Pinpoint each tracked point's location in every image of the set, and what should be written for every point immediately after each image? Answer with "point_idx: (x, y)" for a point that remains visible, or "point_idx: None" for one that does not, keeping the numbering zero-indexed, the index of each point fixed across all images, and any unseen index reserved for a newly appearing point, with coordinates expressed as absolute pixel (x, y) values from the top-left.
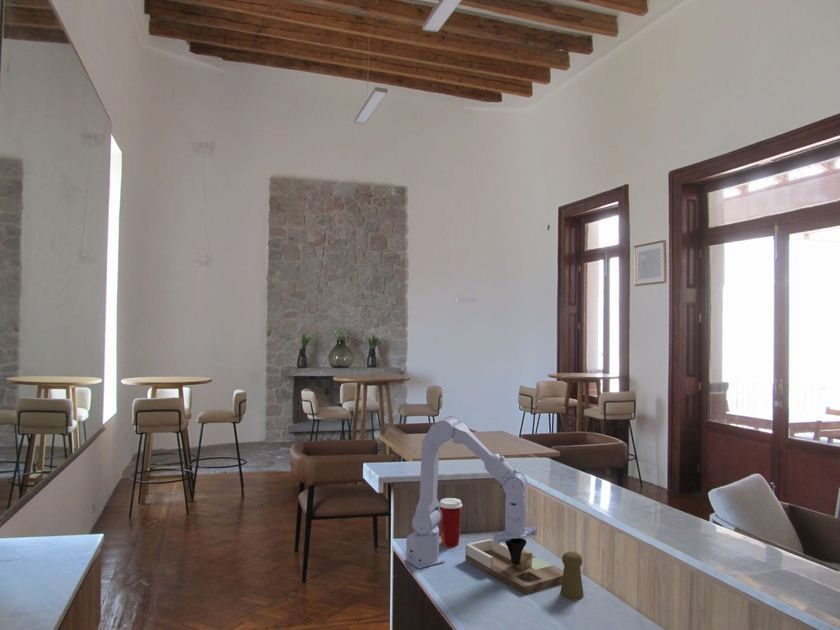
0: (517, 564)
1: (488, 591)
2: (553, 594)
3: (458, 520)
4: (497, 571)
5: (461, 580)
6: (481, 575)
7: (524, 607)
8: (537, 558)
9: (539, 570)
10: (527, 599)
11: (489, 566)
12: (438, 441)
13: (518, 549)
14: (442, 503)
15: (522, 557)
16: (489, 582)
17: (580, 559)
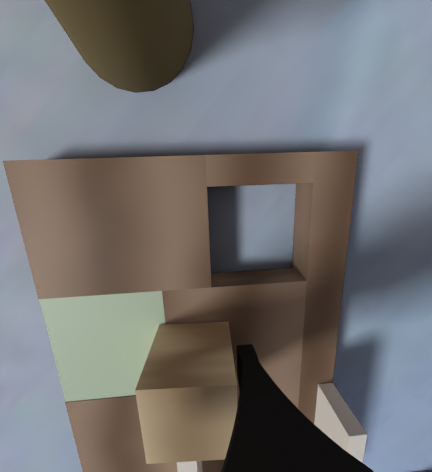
0: (244, 347)
1: (420, 252)
2: (216, 84)
3: None
4: (331, 346)
5: (424, 362)
6: (342, 368)
7: (424, 48)
8: (68, 389)
9: (150, 276)
10: (354, 109)
11: (335, 392)
12: None
13: (290, 431)
14: None
15: (226, 369)
16: (361, 312)
17: None
